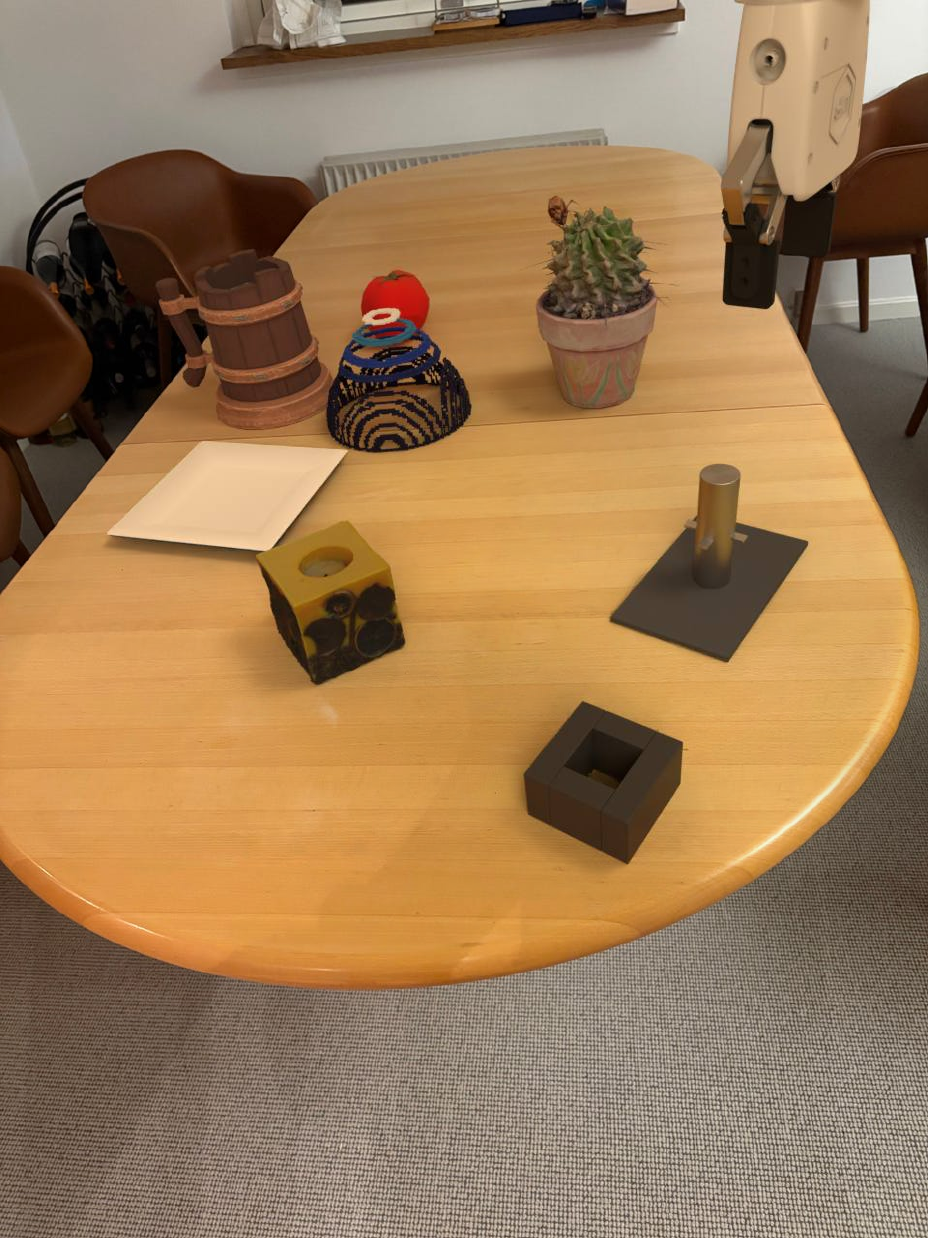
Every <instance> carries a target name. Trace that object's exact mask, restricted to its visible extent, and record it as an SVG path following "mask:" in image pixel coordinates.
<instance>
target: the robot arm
mask: <svg viewBox="0 0 928 1238" xmlns="http://www.w3.org/2000/svg"><path fill="white" fill-rule="evenodd" d="M734 2H735V3H736V4H741V5H743V7H742V15H741V21H740V28H739V33H738V41H737V47H736V48H737V50H736V55H735V56H736V57H735V64H734V73H733V82H732V91H731V93H732V94H731V102H730V112H729V123H728V137H727V157H726V169H725V170H726V171H725V172H724V174H723V176H722V177H721V183H720V191H721V198H722V203H723V209H722V210H721V215H722V216H721V219H722V222H723V224H724V229H723V233H722V237H723V241H724V243H725V244H724V245H725V246H724V247H725V248H724V263H723V264H724V265H723V281H722V296H721V297H722V302H723V303H724V305H726V306H732V307H740V308H750V309H759V310H769V309H771V307H772V306H773V305H774V304H775V301H776V293H777V292H776V290H777V280H778V271H779V260H780V259H779V258H780V250H781V253H782V254H783V255H784V256H785V255H786V256H794V257H805V258H806V257H807V258H818V259H823V258H825V257H827V256H828V255H829V254H830V252H831V246H832V239H833V232H834V231H833V230H834V225H835V223H834V222H835V215H836V207H837V199H838V193H836V192H837V191H838V189H839V186H840V182H841V174H842V173H843V172H845V170H847V169H848V168H849V167H850V166H851V165H852V164H853V162H854V161H855V159H856V158H857V157H856V156H857V154H858V149H859V143H860V134H861V123H862V114H863V105H864V104H863V103H864V95H865V82H866V71H867V62H868V50H869V37H870V36H869V34H870V12H871V10H870V9H871V0H734ZM759 204H760V205H761V204H763V205H767V208H766V211H765V214H764V217H763V214H762V212H761V209H760V207H759ZM783 212H784V215H783ZM782 215H783V226H782V227H783V229H782V236H781V237H782V239H781V240H776V239H775V237H776V233H777V231H778V227H779V225H780V221H781V218H782Z"/></svg>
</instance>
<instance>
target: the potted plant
mask: <svg viewBox="0 0 928 1238" xmlns="http://www.w3.org/2000/svg"><path fill="white" fill-rule="evenodd" d="M572 203H575V204H576V205H579V206H580V204H579V203H578V202H576V201H574V200H573V199H570V201H569V202H568V204H567V205H566V202H565V200H564V199H563V198H562V197H560V196H558V195H554V196H552V197H550V198H549V199H548V203H547V204H548V205H547V214H548V216H549V217H550V222H551V223H552V224H554V225H555V226H556V227H558V228H559V229H560V230H562V232H563V238H562V240H555V239H552V240H551V241H550V242H548V243H547V242H546V245H549V246H551V247H550V249H551V251H548V252H547V254H550V253H551V257H552V258H551V259H548V260H546V261H545V260H544V261H543V262H539V263H535V264H532V265H529V266H526V267H523V268H521V269H518V270H517V272H518V271H520V270H524V269H527V268H529V267H533V266H536V265H540V264H544V263H547V262H548V263H547V266H545V267H543V268H541V269H539V271H541V270H544V269H545V270H546V269H548V270H550V271H551V272H550V273H547V274H546V276H548V275H553V274H554V275H555V277H554V278H553V279H552V280H551V282H550V283H549V282H547V286H545V287H544V290H545V291H543V292H542V293H541V295H540V296H539V297H538V298H537V300H536V303H535V311H536V317H537V323H538V330H539V333H540V334H539V335H540V337H541V338H542V341H544V342H545V343H546V345H547V348H548V352H549V356H550V359H551V362H552V365H553V369H554V372H555V376H556V379H557V382H558V385H559V388H560V392H561V395H562V398H563V400H564V401H565V402H566V403H568V404H569V405H571V406H574V407H577V408H582V409H591V410H592V409H594V410H598V409H603V408H604V409H605V408H610V407H613V406H618V405H622V404H623V403H624V402H626V401H627V400H630V399H631V397H632V396H633V394H634V392H635V390H636V389H635V388H636V385H637V381H638V377H639V373H640V369H641V365H642V361H643V357H644V352H645V349H646V345H647V341H648V338H649V335H650V334H651V333H652V332H654V327H655V320H656V312H657V306H658V305H657V304H658V301H660V302H661V303H663V300H662V299H669V301H671V299H670V298H669V297H668V296H664V297H663V296H660V297H658V293H657V292H656V290H655V288H654V286H653V285H656V284H657V285H658V284H659V285H660V284H661V285H662V284H663V285H665V284H666V283H664V282H663V283H662V282H651V280H652V279H651V278H648V279H646V278H643V277H642V276H641V275H640V274H641V273H643V272H645V273H647V274H648V272H652V273H654V274H657V275H659V273H657V272H656V271H652V270H651V269H647V267H648V265H647V263H645V262H644V260H642V259H641V258H640V257H639V256H638V255H640V254H641V253H644V254H647V252H646V251H643V250H644V249H645V250H654V251H657V249H656V248H651V247H649V246H645V243H648V241H647V240H643V237H641V236H635V234H634V230H633V225H634V224H633V223H634V221H633V220H634V219H632V217H631V216H629V217H628V218H622V219H618V218H616V217H615V214H614V212H613V210H612V209H611V208H608V207H607V206H605V205H604V207H603V210H602V214H599V215H596V213H595V212H594V211H593V209H592V208H591V207H589V210H588V209H587V210H586V211H585V212H584V214H583V215H582V214H581V213H579V212H578V211H575V210H572V211H571V209H570V208H569V206H570V205H571V204H572ZM568 208H569V209H568ZM571 212H573V213H574V214H573V219H572V217H570V218H571V223H570V225H567V220H568V214H570V216H572V213H571ZM586 214H587V215H586ZM574 218H576V220H575V219H574ZM649 243H652V244H654V241H649ZM658 244H659V245H662V243H661V242H660V243H659V242H657V245H658ZM665 245H666V246H667V245H669V244H667V243H665ZM658 251H660V252H661V250H659V249H658ZM554 252H555V253H556V254H555V255H554ZM665 253H667V254H668V252H666V251H665ZM669 285H672V286H675V284H673V283H671V284H670V283H669ZM676 286H678V287H680V284H679V285H678V284H676ZM664 305H665V306H667V304H666V303H664ZM667 307H668V306H667Z"/></svg>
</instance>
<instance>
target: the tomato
mask: <svg viewBox="0 0 928 1238" xmlns="http://www.w3.org/2000/svg"><path fill="white" fill-rule="evenodd" d="M384 308H390V309H392V308H395V309H397V310H398V309H399V312H400V317H399V319H404V320H405V319H407V320H409V321H412V323H414V325H415V327H417V329H419V330H421V328H423V327H424V324H425V323H426V321H427V318H428V314H429V310H430V297H429V294H428V293H427V291H426V289H425V287H424V286H423V284H422V282H421V281H420V280H419V279H418V278H417V276H416V275H415V274H414V273H411V272H409V271H405V270H401V269H395V270H392V271H390V272H389V273H388V274H387V275H378V276H375V277H373V278H372V279H371V281H369V282H368V284H367V285H366V287H365V289H364V290H363V291H362V297H361V303H360V310H361V315H362V316H361V317H362V318H363V317H364V315H366V314H367V313H369V311H372V310H378V309H384ZM388 317H391V314H389V313H385V314H377V315H375V316H374V317H372V318H373V319H374V320H380V319H384V318H388ZM365 325H367V324H365ZM398 326H401V327H406V325H405V324H404V323H403V324H402V323H399V322H390V323H386V324H383V325H374V326H370V327H368V328H367V329H368V330H369V332H370V331H374V330H378V329H382V328H388V327H398ZM401 333H403V332H400V331H398V332H387V333H384V334H377V335H374V337H375V338H378V337H383V336H391V335H399V334H401ZM413 335H415V336H416V335H417V333H414V334H413Z"/></svg>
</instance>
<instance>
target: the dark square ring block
mask: <svg viewBox="0 0 928 1238" xmlns="http://www.w3.org/2000/svg"><path fill="white" fill-rule="evenodd" d="M683 751H684V741H683V740H680V739H677V738H675V737H673V736H671V735H667V734H665V733H662V732H660V731H657V730H656V729H653V728H650V727H648V726H646V725H643V724H641V723H638V722H636V721H633V720H631V719H628V718H626V717H624V716H621V715H618V714H616V713H613V712H611V711H609V710H606V709H604V708H601V707H599V706H596V705H594V704H591V703H590V702H587V701H584V700H581V702H580V703H579V704H578V705H577V707H576V708H575V709H574V710H573V712H572V713H570V715H569V717H567V719H566V721H565V722H564V723H563V724H562V726H561V727H560V728H559V729H558V730H557V731H556V733H555V734H554V735H553V737H552V738H551V739H550V740H549V742H548V743H547V744H546V745H545V746H544V748H543V749H542V750H541V751H540V753H539V754H537V756H536V758H535V759H534V760H533V761H532V763H530V765H529V766H528V767H527V769H526V770H525V771H524V772H523V784H524V793H525V799H526V800H525V801H526V808H527V815H528V816H530V817H531V818H534V819H537V820H538V821H540V822H542V823H544V824H546V825H548V826H550V827H552V828H554V829H555V830H557V831H559V832H561V833H563V834H566V835H568V836H570V837H571V838H574V839H575V840H578V841H579V842H582V843H583V844H586V845H587V846H589V847H591V848H594V849H596V850H597V851H599V852H602V853H604V854H606V855H608V856H610V857H612V858H614V859H616V860H618V861H620V862H622V863H624V864H626V865H628V864H630V862H631V861H632V859H633V858H634V856H635V855H636V853H637V851H638V850H639V849H640V847H641V845H642V844H643V842H644V841H645V839H646V838H647V836H648V835H649V833H650V831H651V830H652V828H653V827H654V825H655V824H656V822H657V821H658V819H659V817H660V816H661V814H662V813H663V811H664V810H665V808H666V807H667V805H668V804H669V802H670V801H671V799H672V798H673V796H674V795H675V793H676V792H677V790H678V788H679V787H680V785H681V783H682V780H681V779H682V769H683V768H682V767H683V765H682V764H683V753H684V752H683ZM594 770H595V771H597V772H600V773H602V774H604V775H606V776H608V777H610V778H613V779H615V780H618V781H620V783H619V784H618V785H617V787H616V789H614V788H612V787H610V786H608V785H606V784H604V783H601V782H600V781H597V780H595V779H592V778H591V777H589V776H590V775H591V774H592V772H593V771H594Z"/></svg>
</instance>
